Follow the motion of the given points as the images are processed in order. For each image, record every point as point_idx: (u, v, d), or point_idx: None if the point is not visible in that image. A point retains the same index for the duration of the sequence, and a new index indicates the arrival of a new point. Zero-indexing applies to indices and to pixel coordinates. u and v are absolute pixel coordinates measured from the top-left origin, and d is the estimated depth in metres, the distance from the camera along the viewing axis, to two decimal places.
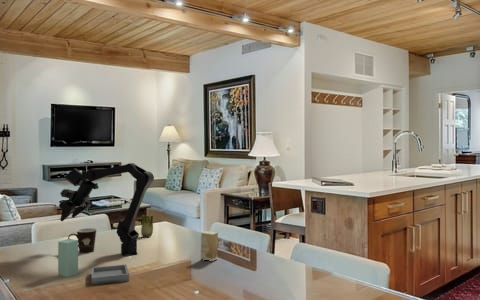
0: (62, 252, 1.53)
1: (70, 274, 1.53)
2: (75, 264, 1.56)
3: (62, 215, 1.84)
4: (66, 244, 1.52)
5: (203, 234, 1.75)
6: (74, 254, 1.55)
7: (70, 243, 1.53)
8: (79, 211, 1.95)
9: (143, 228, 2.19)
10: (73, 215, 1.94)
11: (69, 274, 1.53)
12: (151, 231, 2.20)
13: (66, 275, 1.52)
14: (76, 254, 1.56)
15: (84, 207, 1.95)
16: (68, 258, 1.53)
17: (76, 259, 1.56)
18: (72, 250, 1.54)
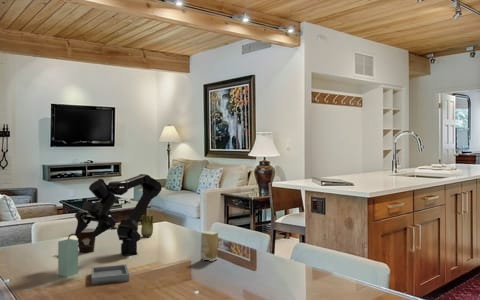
0: (62, 252, 1.53)
1: (70, 274, 1.53)
2: (75, 264, 1.56)
3: (97, 231, 1.61)
4: (66, 244, 1.52)
5: (203, 234, 1.75)
6: (74, 254, 1.55)
7: (70, 243, 1.53)
8: (83, 228, 1.68)
9: (143, 228, 2.19)
10: (77, 233, 1.65)
11: (69, 274, 1.53)
12: (151, 231, 2.20)
13: (66, 275, 1.52)
14: (76, 254, 1.56)
15: None
16: (68, 258, 1.53)
17: (76, 259, 1.56)
18: (72, 250, 1.54)
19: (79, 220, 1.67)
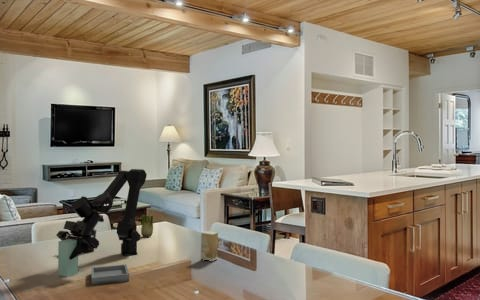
0: (62, 252, 1.53)
1: (70, 274, 1.53)
2: (75, 264, 1.56)
3: (75, 252, 1.54)
4: (66, 244, 1.52)
5: (203, 234, 1.75)
6: None
7: (70, 243, 1.53)
8: None
9: (143, 228, 2.19)
10: None
11: (69, 274, 1.53)
12: (151, 231, 2.20)
13: (66, 275, 1.52)
14: None
15: None
16: (68, 258, 1.52)
17: (76, 259, 1.56)
18: (72, 250, 1.54)
19: None
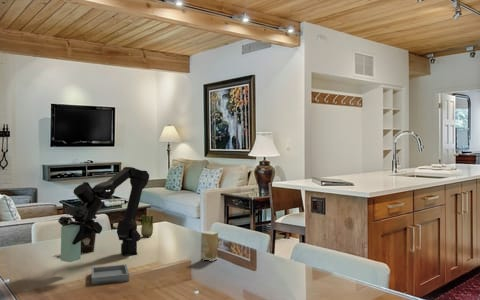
0: (65, 237, 1.53)
1: (73, 259, 1.53)
2: (78, 249, 1.55)
3: (79, 237, 1.54)
4: (69, 229, 1.52)
5: (203, 234, 1.75)
6: None
7: (73, 228, 1.53)
8: None
9: (143, 228, 2.19)
10: None
11: (72, 259, 1.53)
12: (151, 231, 2.20)
13: (69, 260, 1.52)
14: None
15: None
16: (71, 243, 1.52)
17: (79, 244, 1.55)
18: (75, 235, 1.54)
19: None
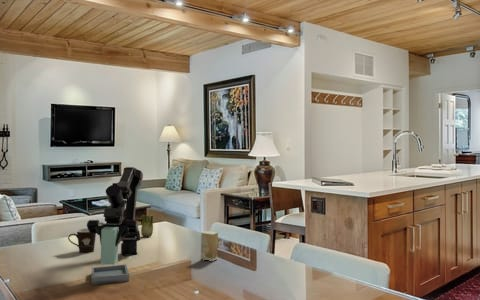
0: (107, 240, 1.50)
1: (115, 261, 1.51)
2: (117, 251, 1.54)
3: (120, 238, 1.53)
4: (113, 231, 1.50)
5: (203, 234, 1.75)
6: None
7: (116, 230, 1.51)
8: None
9: (143, 228, 2.19)
10: None
11: (114, 261, 1.51)
12: (151, 231, 2.19)
13: (112, 262, 1.50)
14: None
15: None
16: (114, 245, 1.50)
17: (117, 246, 1.54)
18: (116, 236, 1.52)
19: (101, 229, 1.53)
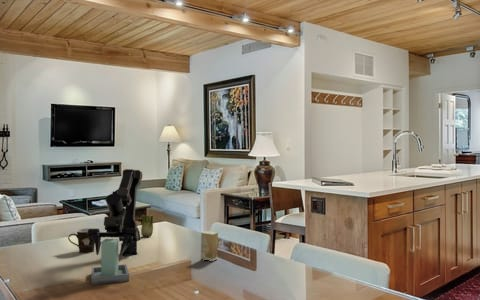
0: (107, 252, 1.50)
1: (115, 273, 1.51)
2: (117, 263, 1.54)
3: (124, 246, 1.53)
4: (113, 243, 1.50)
5: (203, 234, 1.75)
6: (117, 253, 1.53)
7: (115, 242, 1.51)
8: (99, 246, 1.55)
9: (143, 228, 2.19)
10: (98, 251, 1.52)
11: (115, 273, 1.51)
12: (151, 231, 2.19)
13: None
14: (117, 253, 1.54)
15: None
16: (115, 257, 1.50)
17: (117, 258, 1.54)
18: (116, 249, 1.52)
19: (96, 238, 1.53)
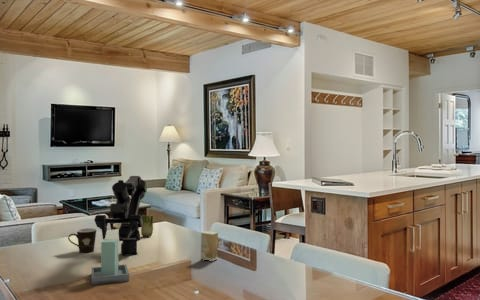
0: (107, 252, 1.50)
1: (115, 273, 1.51)
2: (117, 263, 1.54)
3: (130, 231, 1.63)
4: (113, 243, 1.50)
5: (203, 234, 1.75)
6: (117, 253, 1.53)
7: (115, 242, 1.51)
8: (105, 231, 1.65)
9: (143, 228, 2.19)
10: (104, 236, 1.61)
11: (115, 273, 1.51)
12: (151, 231, 2.19)
13: None
14: (117, 253, 1.54)
15: None
16: (115, 257, 1.50)
17: (117, 258, 1.54)
18: (116, 249, 1.52)
19: (103, 223, 1.63)
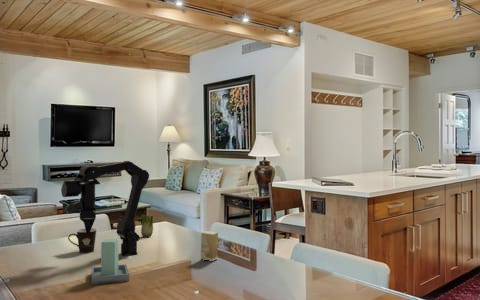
0: (107, 252, 1.50)
1: (115, 273, 1.51)
2: (117, 263, 1.54)
3: (86, 227, 1.66)
4: (113, 243, 1.50)
5: (203, 234, 1.75)
6: (117, 253, 1.53)
7: (115, 242, 1.51)
8: None
9: (143, 228, 2.19)
10: None
11: (115, 273, 1.51)
12: (151, 231, 2.19)
13: None
14: (117, 253, 1.54)
15: None
16: (115, 257, 1.50)
17: (117, 258, 1.54)
18: (116, 249, 1.52)
19: None
